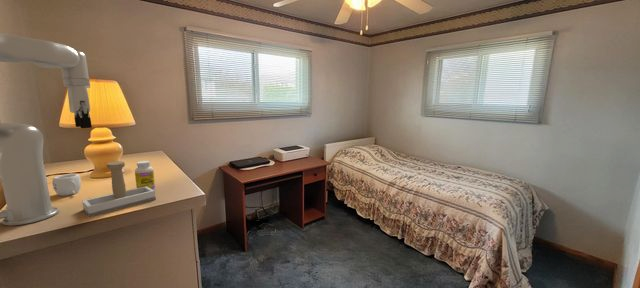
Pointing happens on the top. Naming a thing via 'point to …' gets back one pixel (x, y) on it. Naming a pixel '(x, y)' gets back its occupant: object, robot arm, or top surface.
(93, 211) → the track
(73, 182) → the mug
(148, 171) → the supplement bottle
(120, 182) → the handle
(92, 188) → the top surface
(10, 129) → the robot arm
